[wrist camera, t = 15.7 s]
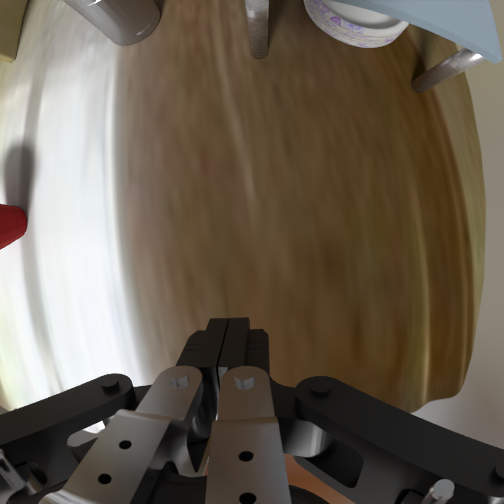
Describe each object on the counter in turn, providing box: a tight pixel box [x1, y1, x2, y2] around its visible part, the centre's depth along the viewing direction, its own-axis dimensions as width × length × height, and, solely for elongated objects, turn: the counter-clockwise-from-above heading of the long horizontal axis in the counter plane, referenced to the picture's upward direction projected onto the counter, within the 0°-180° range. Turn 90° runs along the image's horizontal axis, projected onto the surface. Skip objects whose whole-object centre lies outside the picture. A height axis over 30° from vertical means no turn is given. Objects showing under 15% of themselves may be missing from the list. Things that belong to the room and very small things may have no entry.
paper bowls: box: [304, 0, 409, 48], centre depth 30 cm, size 15×15×8 cm
